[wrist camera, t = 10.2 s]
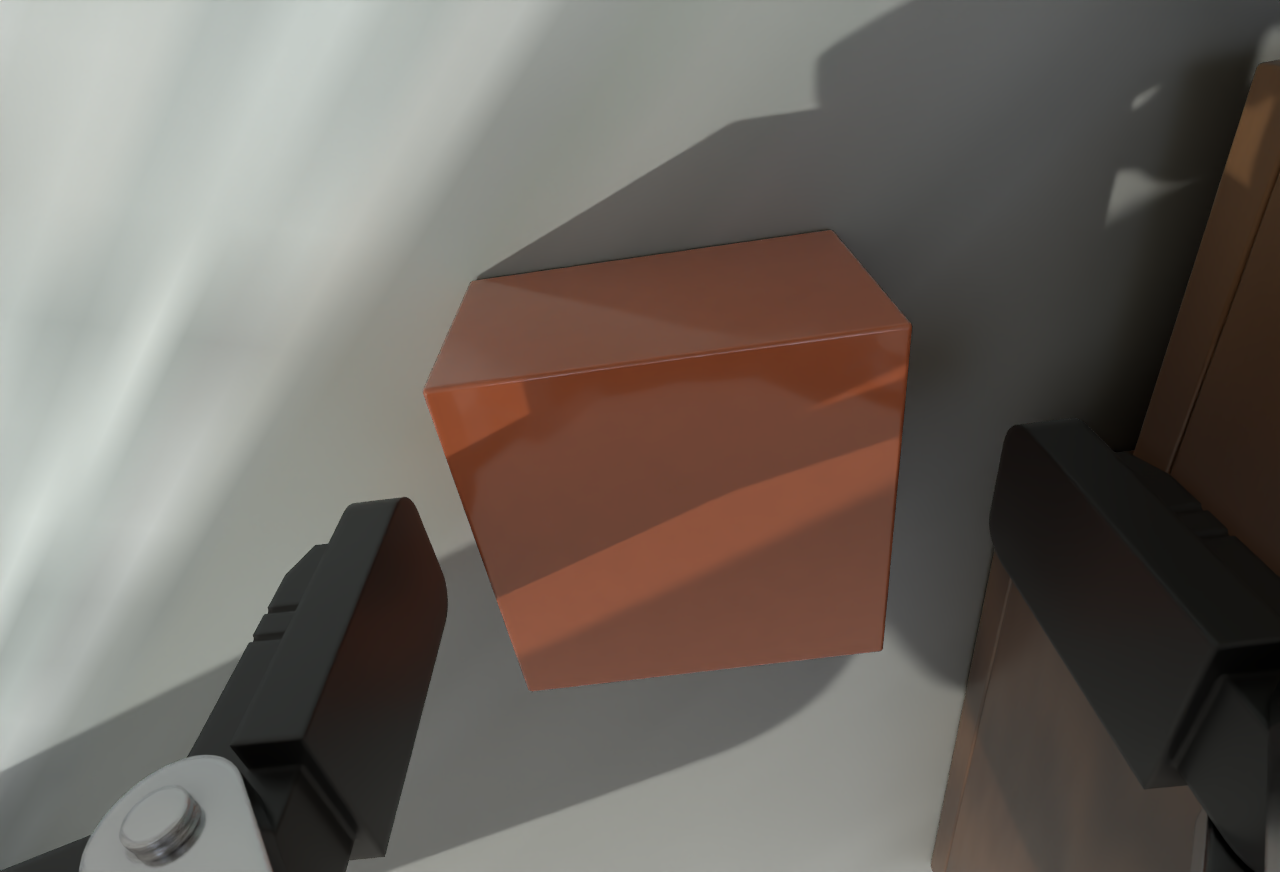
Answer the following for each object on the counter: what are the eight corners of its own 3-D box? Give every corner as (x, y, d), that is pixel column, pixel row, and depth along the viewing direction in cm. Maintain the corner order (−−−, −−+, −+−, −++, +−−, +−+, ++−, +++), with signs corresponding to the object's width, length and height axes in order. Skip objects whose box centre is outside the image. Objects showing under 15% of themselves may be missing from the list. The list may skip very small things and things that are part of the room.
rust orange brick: (544, 546, 14) (528, 693, 11) (469, 280, 11) (419, 391, 8) (827, 510, 14) (884, 653, 11) (833, 228, 11) (915, 323, 8)
